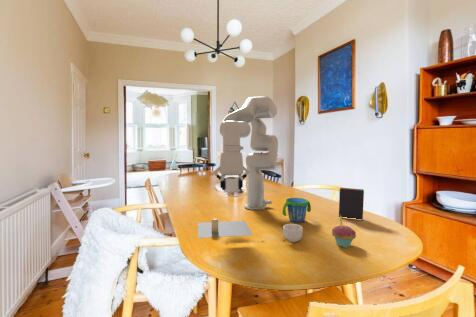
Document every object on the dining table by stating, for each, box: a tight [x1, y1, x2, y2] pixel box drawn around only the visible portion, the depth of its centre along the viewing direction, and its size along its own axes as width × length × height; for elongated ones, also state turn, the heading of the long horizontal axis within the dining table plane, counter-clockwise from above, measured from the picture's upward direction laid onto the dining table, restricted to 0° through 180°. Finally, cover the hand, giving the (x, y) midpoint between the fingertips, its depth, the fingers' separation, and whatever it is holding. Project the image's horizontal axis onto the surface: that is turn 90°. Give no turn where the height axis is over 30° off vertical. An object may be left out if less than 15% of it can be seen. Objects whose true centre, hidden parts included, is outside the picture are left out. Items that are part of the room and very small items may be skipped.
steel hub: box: [223, 175, 241, 194], centre depth 117 cm, size 7×7×6 cm
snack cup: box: [282, 197, 312, 223], centre depth 129 cm, size 16×10×10 cm
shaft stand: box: [197, 217, 254, 239], centre depth 114 cm, size 22×18×7 cm
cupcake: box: [331, 215, 357, 248], centre depth 100 cm, size 9×8×12 cm
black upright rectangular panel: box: [338, 187, 365, 220], centre depth 132 cm, size 11×4×15 cm, turn 65°
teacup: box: [282, 223, 304, 243], centre depth 106 cm, size 10×8×5 cm
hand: (231, 189), depth 117 cm, fingers closed on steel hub, 7 cm apart
